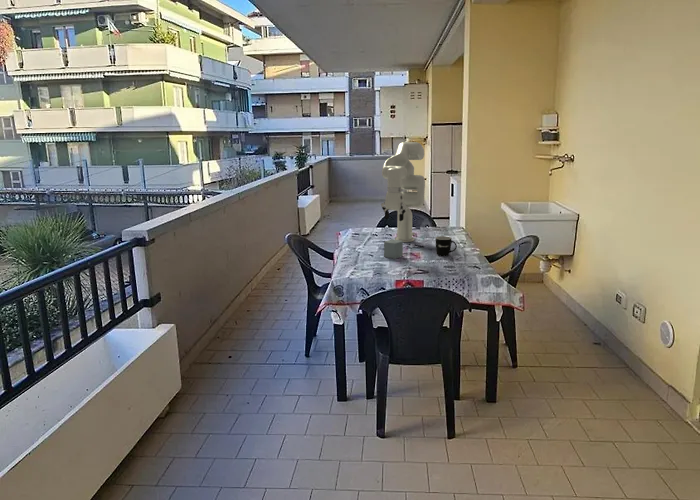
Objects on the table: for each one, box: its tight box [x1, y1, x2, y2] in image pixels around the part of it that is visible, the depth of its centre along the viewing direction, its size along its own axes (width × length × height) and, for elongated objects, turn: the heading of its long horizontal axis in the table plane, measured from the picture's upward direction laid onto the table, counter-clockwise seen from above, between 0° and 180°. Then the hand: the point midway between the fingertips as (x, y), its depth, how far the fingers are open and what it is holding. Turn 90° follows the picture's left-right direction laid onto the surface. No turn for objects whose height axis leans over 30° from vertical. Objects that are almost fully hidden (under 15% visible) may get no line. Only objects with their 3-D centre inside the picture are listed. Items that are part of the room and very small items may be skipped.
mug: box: [435, 235, 458, 257], centre depth 286 cm, size 12×9×10 cm
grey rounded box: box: [383, 238, 404, 260], centre depth 285 cm, size 8×8×9 cm
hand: (394, 219), depth 287 cm, fingers open, 9 cm apart
